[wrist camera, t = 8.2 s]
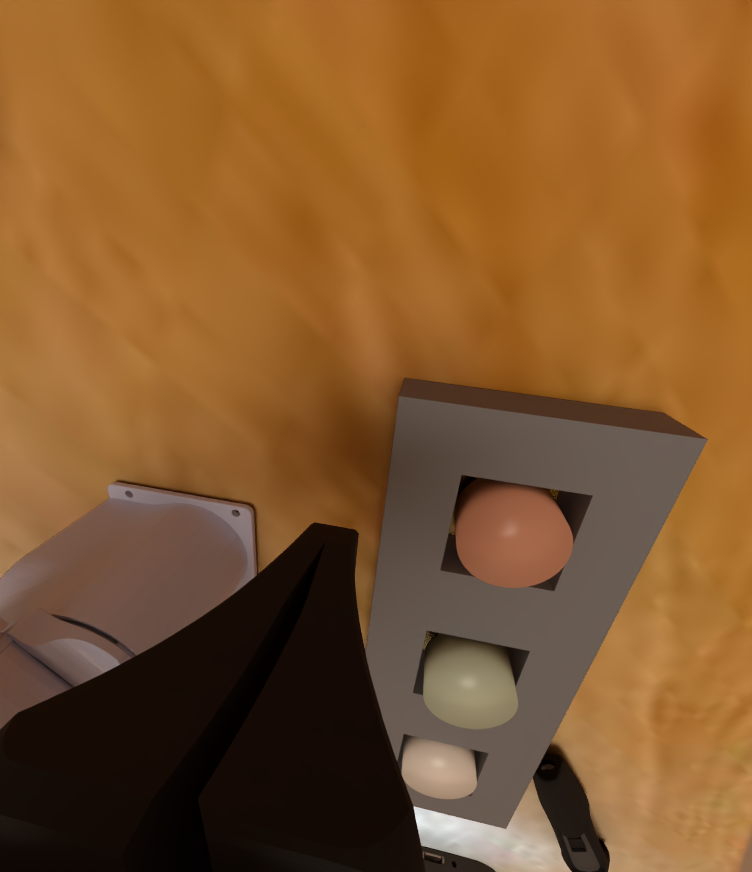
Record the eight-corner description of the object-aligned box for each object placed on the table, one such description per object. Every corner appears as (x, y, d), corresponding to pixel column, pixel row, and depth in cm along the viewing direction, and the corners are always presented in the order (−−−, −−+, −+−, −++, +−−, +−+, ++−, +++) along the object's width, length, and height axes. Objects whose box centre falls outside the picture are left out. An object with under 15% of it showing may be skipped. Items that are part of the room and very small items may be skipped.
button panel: (355, 745, 31) (347, 789, 28) (404, 377, 18) (399, 396, 15) (499, 778, 30) (505, 828, 27) (663, 412, 17) (707, 439, 14)
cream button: (400, 749, 28) (397, 788, 26) (409, 709, 26) (406, 749, 24) (466, 764, 28) (468, 805, 26) (480, 725, 26) (484, 767, 24)
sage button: (418, 676, 23) (417, 717, 21) (431, 621, 21) (430, 660, 19) (498, 693, 23) (505, 737, 21) (519, 638, 21) (529, 681, 19)
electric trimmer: (566, 730, 27) (581, 783, 24) (606, 843, 32) (623, 899, 29) (514, 734, 28) (523, 786, 25) (561, 843, 33) (573, 897, 30)
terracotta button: (446, 544, 20) (447, 577, 18) (464, 463, 18) (468, 489, 16) (540, 560, 20) (553, 596, 17) (570, 480, 17) (589, 509, 15)
